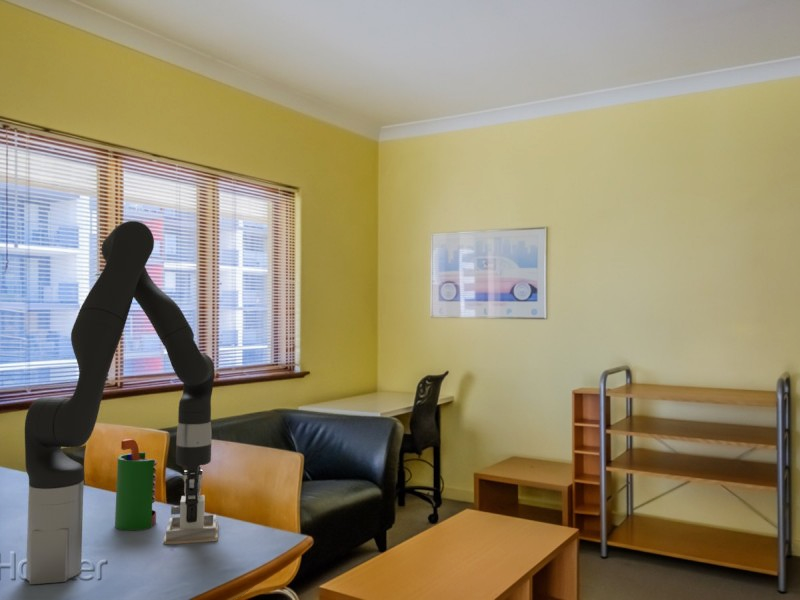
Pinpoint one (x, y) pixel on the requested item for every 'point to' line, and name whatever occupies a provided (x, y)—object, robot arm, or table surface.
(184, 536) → the mount pocket
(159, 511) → the table surface
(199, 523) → the cream cube on peg
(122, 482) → the green cutaway cylinder
